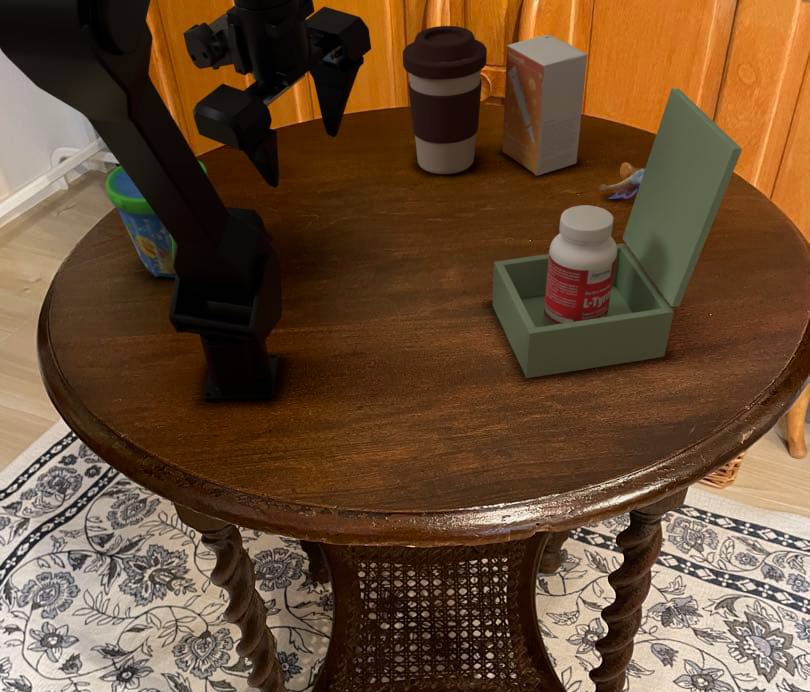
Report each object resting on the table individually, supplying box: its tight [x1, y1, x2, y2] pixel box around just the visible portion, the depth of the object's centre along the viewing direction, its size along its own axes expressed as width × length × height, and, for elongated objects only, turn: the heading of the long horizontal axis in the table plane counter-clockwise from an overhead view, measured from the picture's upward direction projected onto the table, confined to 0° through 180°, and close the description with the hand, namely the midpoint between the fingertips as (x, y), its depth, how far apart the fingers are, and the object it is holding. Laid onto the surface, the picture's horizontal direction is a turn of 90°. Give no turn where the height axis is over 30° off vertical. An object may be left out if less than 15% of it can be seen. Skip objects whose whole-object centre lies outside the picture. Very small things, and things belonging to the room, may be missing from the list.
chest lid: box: [622, 87, 743, 308], centre depth 77 cm, size 14×13×1 cm
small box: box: [502, 34, 588, 176], centre depth 106 cm, size 8×6×13 cm
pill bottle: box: [543, 204, 617, 326], centre depth 81 cm, size 6×6×11 cm
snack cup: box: [105, 159, 209, 279], centre depth 94 cm, size 16×10×10 cm
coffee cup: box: [402, 25, 488, 175], centre depth 106 cm, size 10×10×15 cm
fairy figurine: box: [598, 161, 645, 200], centre depth 100 cm, size 12×5×12 cm
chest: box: [491, 242, 675, 379], centre depth 84 cm, size 14×13×5 cm
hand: (303, 160), depth 86 cm, fingers open, 9 cm apart
